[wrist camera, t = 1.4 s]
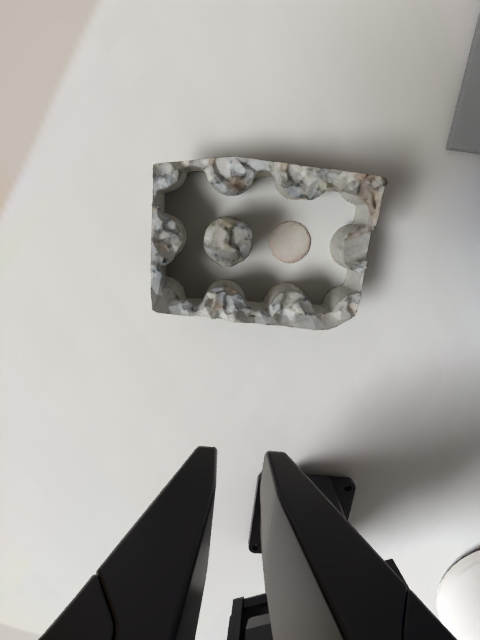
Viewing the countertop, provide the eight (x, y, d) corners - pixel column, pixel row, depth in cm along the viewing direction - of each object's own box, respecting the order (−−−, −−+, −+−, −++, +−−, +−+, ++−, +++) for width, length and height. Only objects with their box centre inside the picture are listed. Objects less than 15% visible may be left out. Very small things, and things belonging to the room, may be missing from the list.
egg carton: (366, 181, 18) (404, 172, 15) (338, 316, 21) (364, 341, 17) (163, 155, 18) (146, 137, 14) (156, 297, 20) (139, 318, 16)
